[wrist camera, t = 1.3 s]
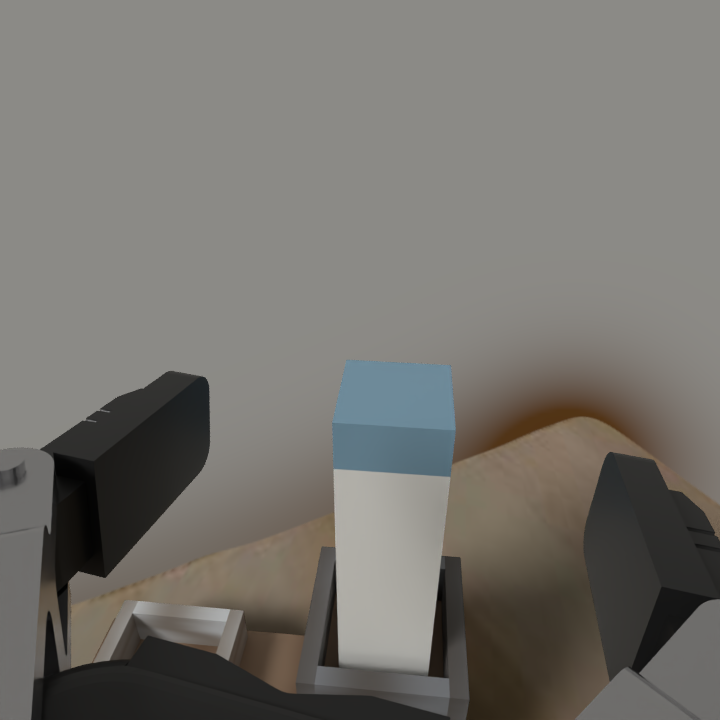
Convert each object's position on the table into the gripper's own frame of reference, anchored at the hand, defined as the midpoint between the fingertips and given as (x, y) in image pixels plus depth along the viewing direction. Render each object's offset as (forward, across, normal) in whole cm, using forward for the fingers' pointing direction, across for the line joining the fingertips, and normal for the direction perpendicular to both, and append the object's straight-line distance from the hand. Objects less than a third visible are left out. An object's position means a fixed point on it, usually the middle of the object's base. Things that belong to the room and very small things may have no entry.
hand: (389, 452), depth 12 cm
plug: (+11, 0, +17) cm, 21 cm away
